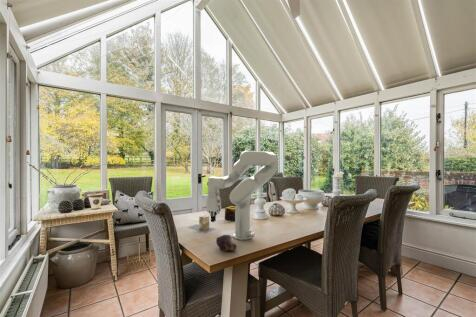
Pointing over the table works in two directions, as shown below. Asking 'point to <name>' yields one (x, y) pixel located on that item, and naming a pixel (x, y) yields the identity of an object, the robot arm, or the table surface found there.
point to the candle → (230, 213)
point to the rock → (225, 243)
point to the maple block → (203, 222)
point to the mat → (196, 227)
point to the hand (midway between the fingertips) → (213, 221)
